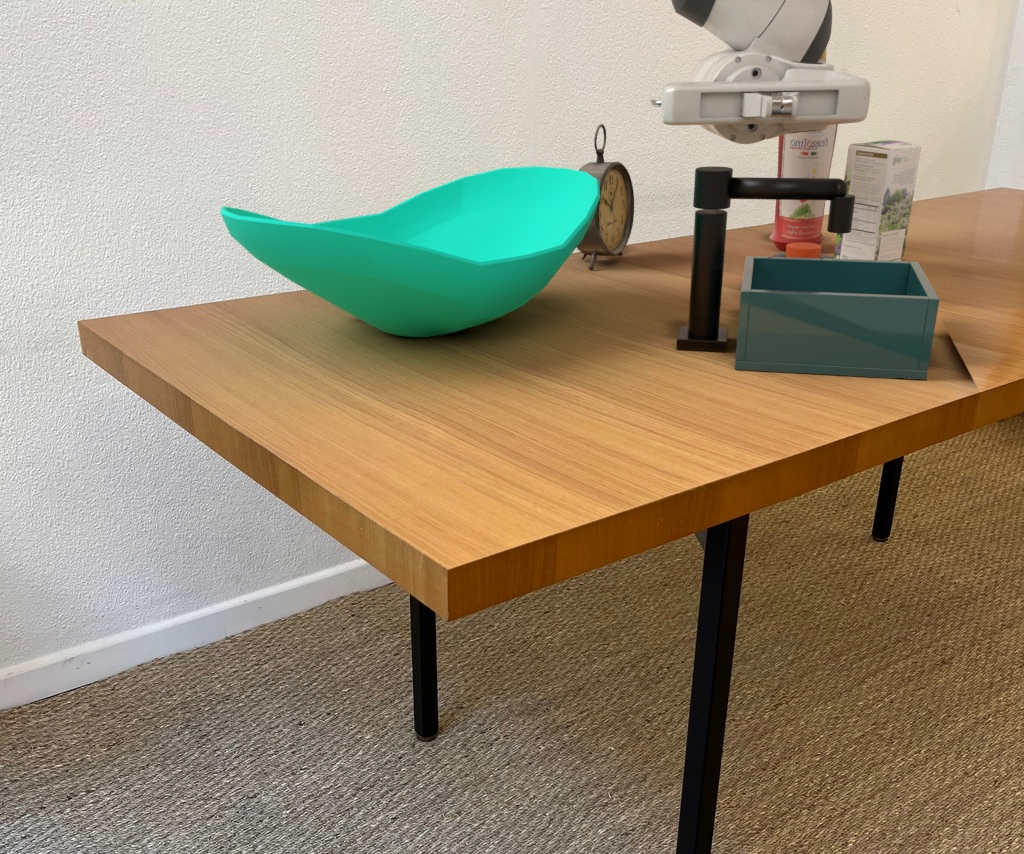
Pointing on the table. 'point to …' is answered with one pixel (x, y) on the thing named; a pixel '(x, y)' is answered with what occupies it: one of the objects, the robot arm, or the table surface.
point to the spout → (773, 193)
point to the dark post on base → (706, 285)
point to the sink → (836, 317)
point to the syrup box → (879, 199)
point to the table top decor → (434, 249)
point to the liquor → (803, 160)
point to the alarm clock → (609, 208)
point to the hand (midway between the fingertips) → (782, 107)
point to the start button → (803, 250)
